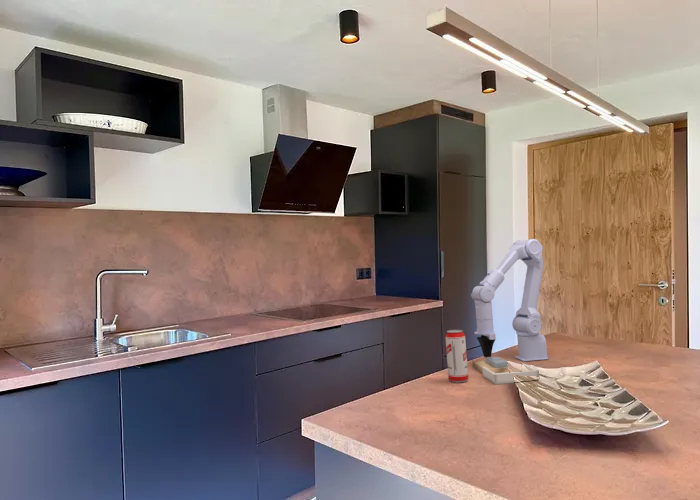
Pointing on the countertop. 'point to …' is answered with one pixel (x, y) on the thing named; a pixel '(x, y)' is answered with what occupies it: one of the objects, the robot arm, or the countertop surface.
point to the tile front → (498, 363)
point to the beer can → (456, 356)
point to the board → (488, 367)
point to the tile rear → (492, 359)
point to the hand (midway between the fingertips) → (487, 356)
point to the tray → (508, 375)
